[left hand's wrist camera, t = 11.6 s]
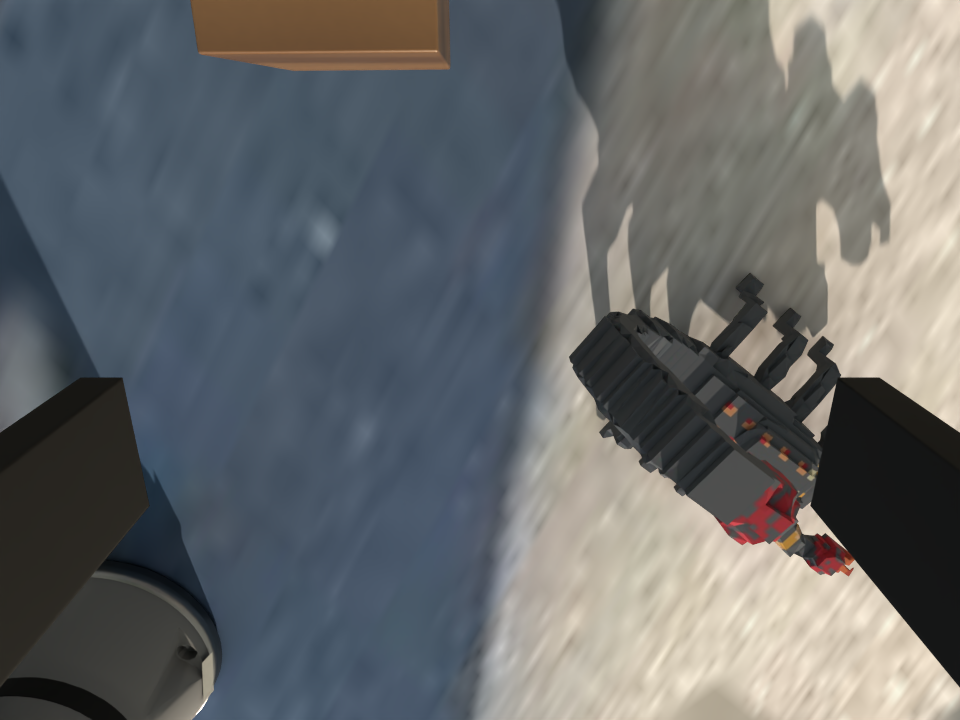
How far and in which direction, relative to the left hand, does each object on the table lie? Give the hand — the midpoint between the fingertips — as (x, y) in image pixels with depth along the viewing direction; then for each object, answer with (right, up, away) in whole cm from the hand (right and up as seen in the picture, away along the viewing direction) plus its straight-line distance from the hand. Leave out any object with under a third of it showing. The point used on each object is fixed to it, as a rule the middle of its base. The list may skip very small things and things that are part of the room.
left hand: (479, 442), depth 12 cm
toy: (+16, -1, +30) cm, 34 cm away
